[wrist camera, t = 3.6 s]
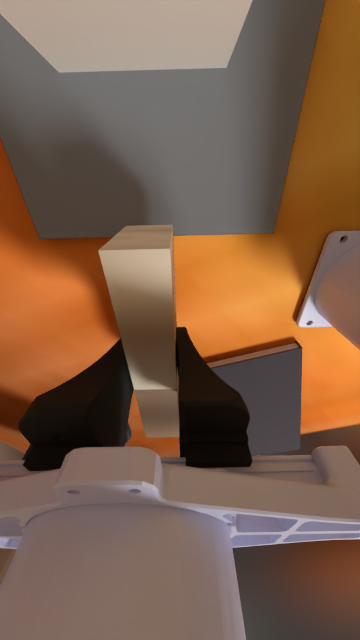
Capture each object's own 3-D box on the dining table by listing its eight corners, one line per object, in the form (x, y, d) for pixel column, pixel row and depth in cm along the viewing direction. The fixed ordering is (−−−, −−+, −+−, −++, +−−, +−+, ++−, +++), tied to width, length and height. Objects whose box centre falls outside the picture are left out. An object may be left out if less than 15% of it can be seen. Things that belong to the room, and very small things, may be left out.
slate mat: (471, -716, 4) (511, -845, 4) (269, 231, 14) (273, 233, 13) (-297, -677, 4) (-364, -800, 4) (44, 237, 14) (39, 239, 13)
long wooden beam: (179, 386, 19) (179, 437, 15) (152, 386, 19) (146, 437, 15) (172, 224, 10) (169, 248, 7) (125, 225, 11) (98, 250, 7)
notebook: (294, 438, 31) (294, 337, 20) (300, 449, 30) (302, 347, 19) (215, 451, 33) (175, 365, 22) (217, 461, 32) (174, 376, 21)
